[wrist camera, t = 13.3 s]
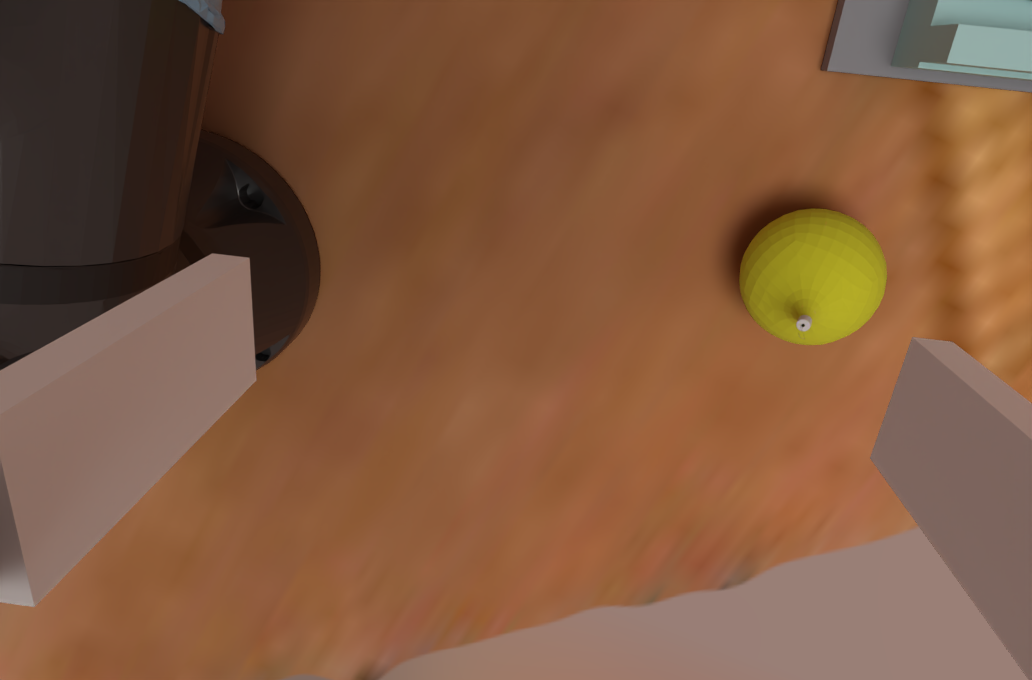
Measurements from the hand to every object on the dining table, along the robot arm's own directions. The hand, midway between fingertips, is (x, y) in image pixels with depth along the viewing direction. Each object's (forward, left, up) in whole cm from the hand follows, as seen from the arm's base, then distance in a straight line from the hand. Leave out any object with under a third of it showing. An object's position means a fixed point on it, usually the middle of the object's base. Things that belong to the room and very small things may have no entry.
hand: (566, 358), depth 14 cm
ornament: (+13, -4, -27) cm, 30 cm away
